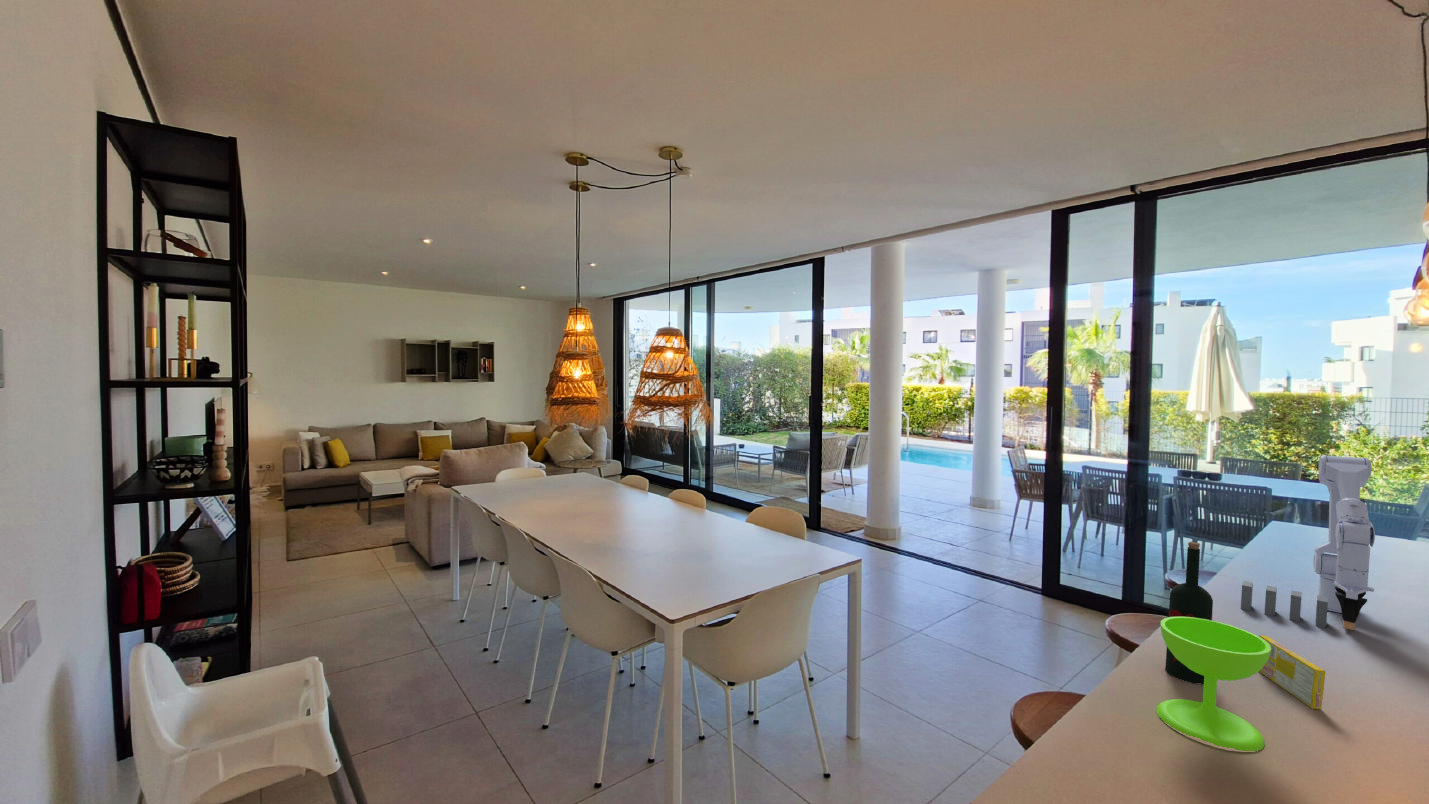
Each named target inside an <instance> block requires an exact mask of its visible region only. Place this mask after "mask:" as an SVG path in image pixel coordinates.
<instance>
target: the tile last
mask: <svg viewBox="0 0 1429 804" xmlns="http://www.w3.org/2000/svg"><path fill="white" fill-rule="evenodd" d="M1253 585H1254V582H1252V581H1247V580H1243V582H1242V584H1241V595H1240V596H1241V597H1240V609H1241V610H1245V611H1248V612H1249V611H1251V609H1252V604H1253V603H1252V602H1253V587H1254V586H1253Z"/></svg>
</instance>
